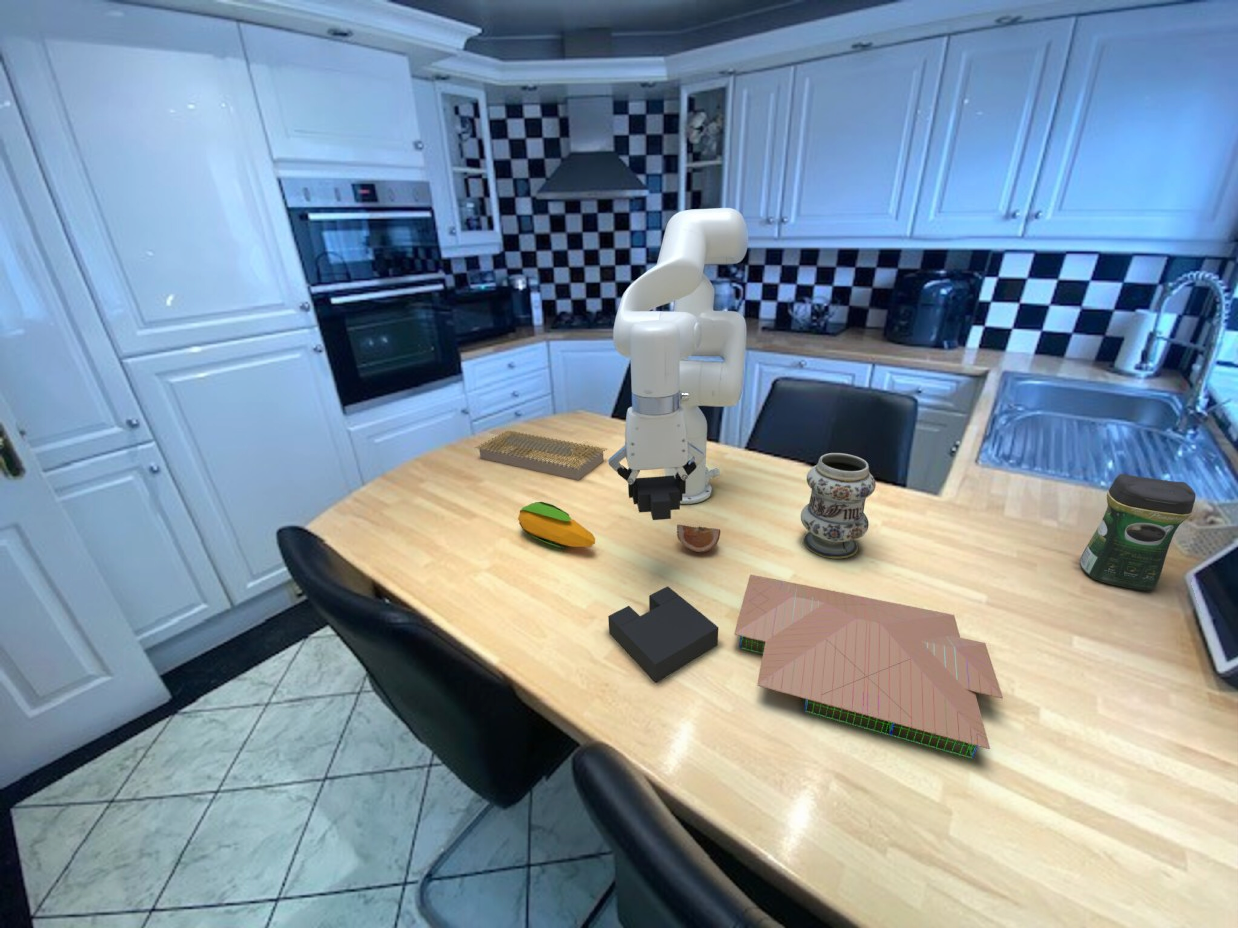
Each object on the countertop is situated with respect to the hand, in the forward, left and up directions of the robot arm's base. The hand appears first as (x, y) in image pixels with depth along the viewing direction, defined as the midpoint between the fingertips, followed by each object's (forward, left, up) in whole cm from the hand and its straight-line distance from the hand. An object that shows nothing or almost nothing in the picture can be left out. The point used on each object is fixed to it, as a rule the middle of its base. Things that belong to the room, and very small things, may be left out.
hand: (656, 498), depth 88 cm
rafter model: (-5, -59, -15) cm, 61 cm away
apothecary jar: (-32, +14, -15) cm, 38 cm away
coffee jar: (-62, +49, -15) cm, 80 cm away
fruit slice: (-11, -1, -15) cm, 19 cm away
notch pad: (+10, +14, -15) cm, 23 cm away
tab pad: (+1, +1, -1) cm, 2 cm away
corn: (+10, -20, -15) cm, 27 cm away
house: (-9, +34, -15) cm, 38 cm away
